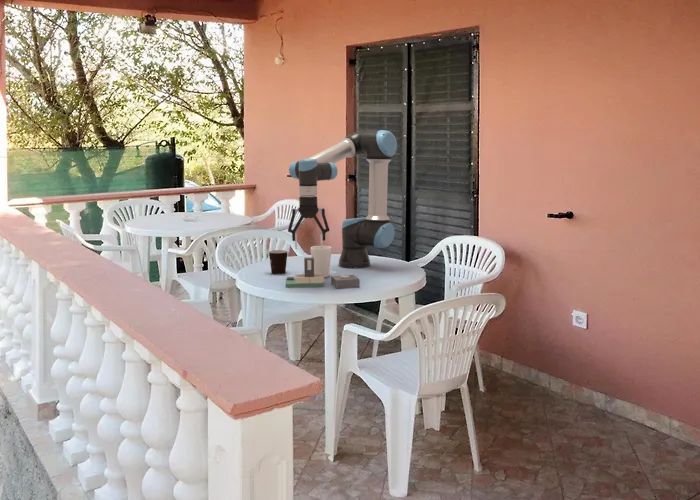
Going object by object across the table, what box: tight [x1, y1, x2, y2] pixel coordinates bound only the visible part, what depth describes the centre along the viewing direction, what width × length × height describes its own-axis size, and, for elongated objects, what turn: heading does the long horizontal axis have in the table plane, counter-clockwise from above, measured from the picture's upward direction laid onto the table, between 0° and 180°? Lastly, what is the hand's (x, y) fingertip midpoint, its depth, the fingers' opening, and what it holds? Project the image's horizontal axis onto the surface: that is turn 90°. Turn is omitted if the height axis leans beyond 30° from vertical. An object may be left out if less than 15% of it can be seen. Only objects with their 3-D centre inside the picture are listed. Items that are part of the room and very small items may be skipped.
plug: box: [303, 256, 314, 277], centre depth 320 cm, size 4×5×10 cm
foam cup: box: [310, 245, 333, 278], centre depth 340 cm, size 10×9×13 cm
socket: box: [294, 273, 325, 284], centre depth 321 cm, size 12×8×2 cm, turn 95°
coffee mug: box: [268, 249, 288, 275], centre depth 349 cm, size 12×9×10 cm
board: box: [285, 276, 325, 288], centre depth 323 cm, size 16×11×2 cm
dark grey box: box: [330, 274, 360, 290], centre depth 320 cm, size 10×10×4 cm
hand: (308, 248), depth 319 cm, fingers open, 10 cm apart
